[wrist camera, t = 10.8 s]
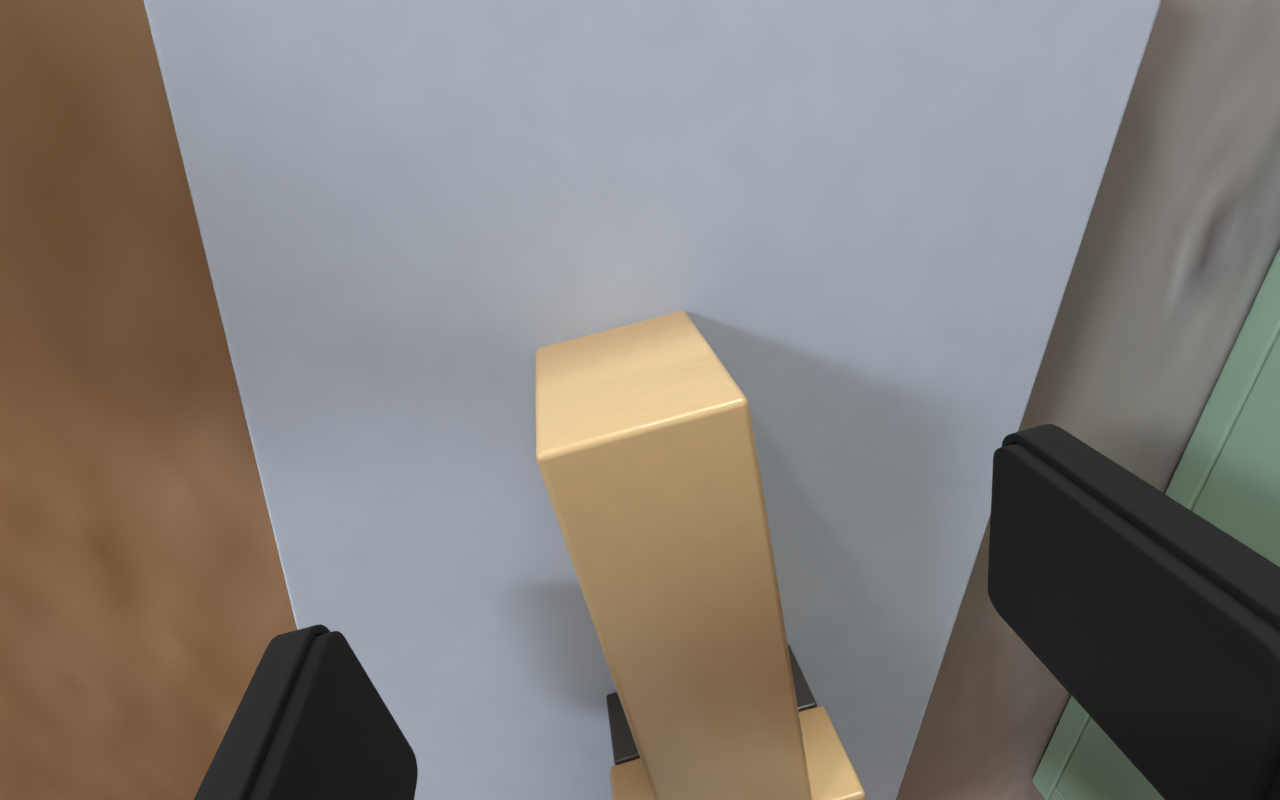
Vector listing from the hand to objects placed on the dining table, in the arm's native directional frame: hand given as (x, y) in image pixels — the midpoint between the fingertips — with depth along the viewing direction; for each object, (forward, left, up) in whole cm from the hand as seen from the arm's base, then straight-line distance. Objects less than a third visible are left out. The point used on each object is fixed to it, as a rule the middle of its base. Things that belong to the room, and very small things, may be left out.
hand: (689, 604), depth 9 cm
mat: (+2, 0, -3) cm, 3 cm away
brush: (+2, 0, -2) cm, 2 cm away
